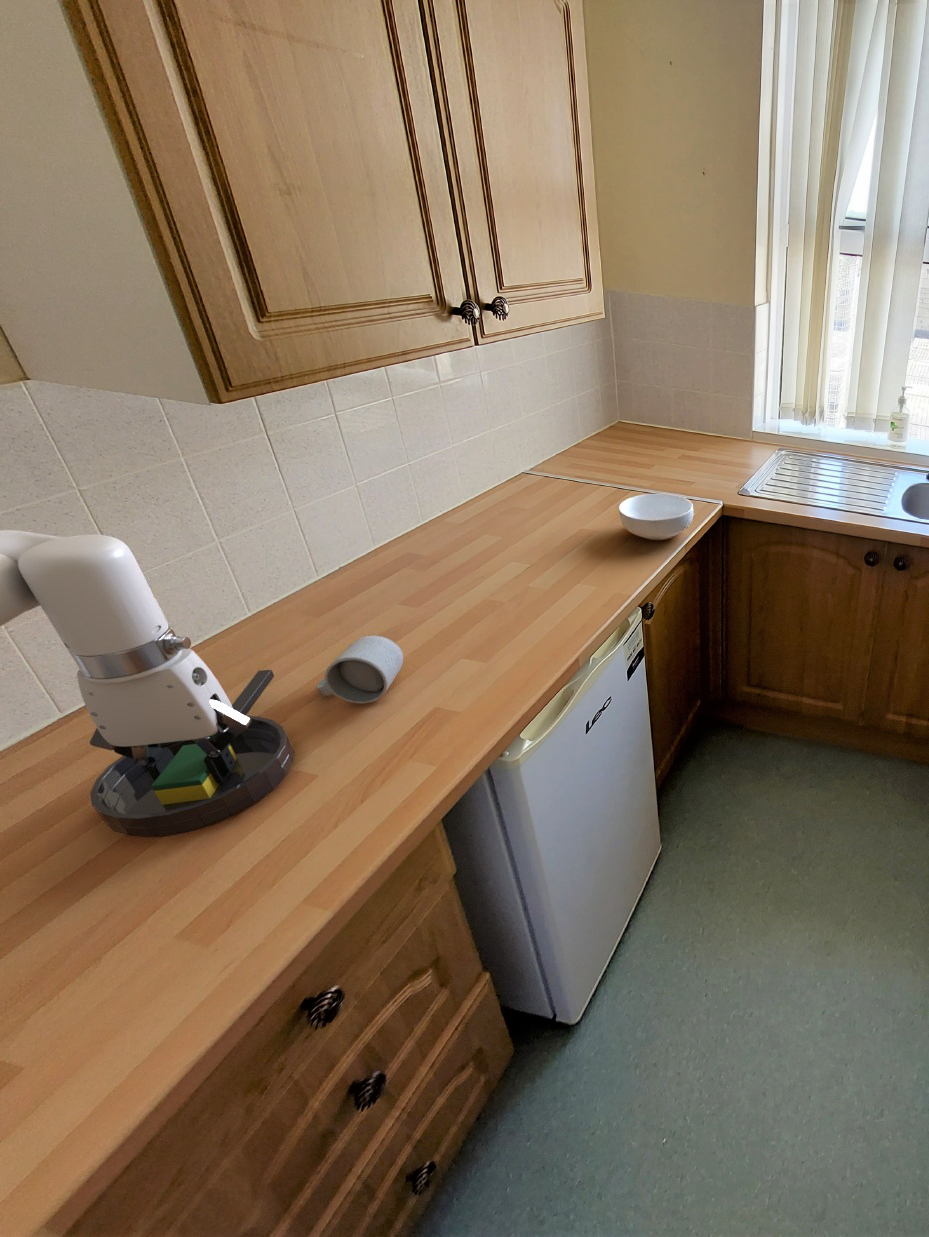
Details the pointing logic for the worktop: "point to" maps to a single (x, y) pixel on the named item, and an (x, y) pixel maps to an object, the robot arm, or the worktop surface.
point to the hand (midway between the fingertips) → (199, 777)
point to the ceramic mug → (363, 670)
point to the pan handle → (252, 691)
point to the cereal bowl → (656, 515)
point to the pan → (141, 814)
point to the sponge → (186, 777)
